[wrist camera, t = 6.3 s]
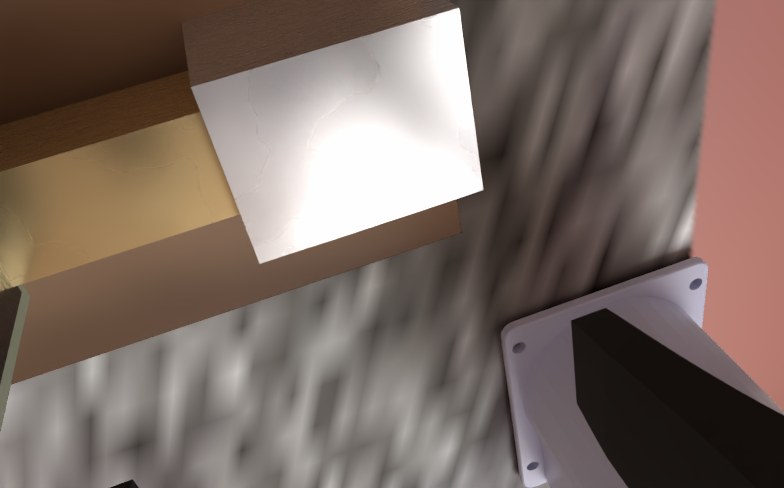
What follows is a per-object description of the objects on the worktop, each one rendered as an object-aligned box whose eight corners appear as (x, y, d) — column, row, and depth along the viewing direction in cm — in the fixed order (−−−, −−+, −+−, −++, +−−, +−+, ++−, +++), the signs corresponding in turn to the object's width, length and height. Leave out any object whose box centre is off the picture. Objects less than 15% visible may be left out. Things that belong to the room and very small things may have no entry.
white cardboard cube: (424, 117, 18) (483, 190, 15) (238, 175, 18) (259, 263, 15) (396, -40, 16) (459, 8, 13) (181, 21, 15) (190, 87, 12)
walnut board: (450, 215, 22) (462, 232, 21) (-47, 380, 20) (-55, 406, 19) (369, -256, 14) (383, -258, 14) (-417, -64, 13) (-455, -53, 12)
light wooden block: (236, 172, 17) (278, 360, 11) (-107, 280, 16) (-235, 539, 11) (191, 55, 15) (217, 211, 10) (-198, 167, 14) (-407, 410, 9)
